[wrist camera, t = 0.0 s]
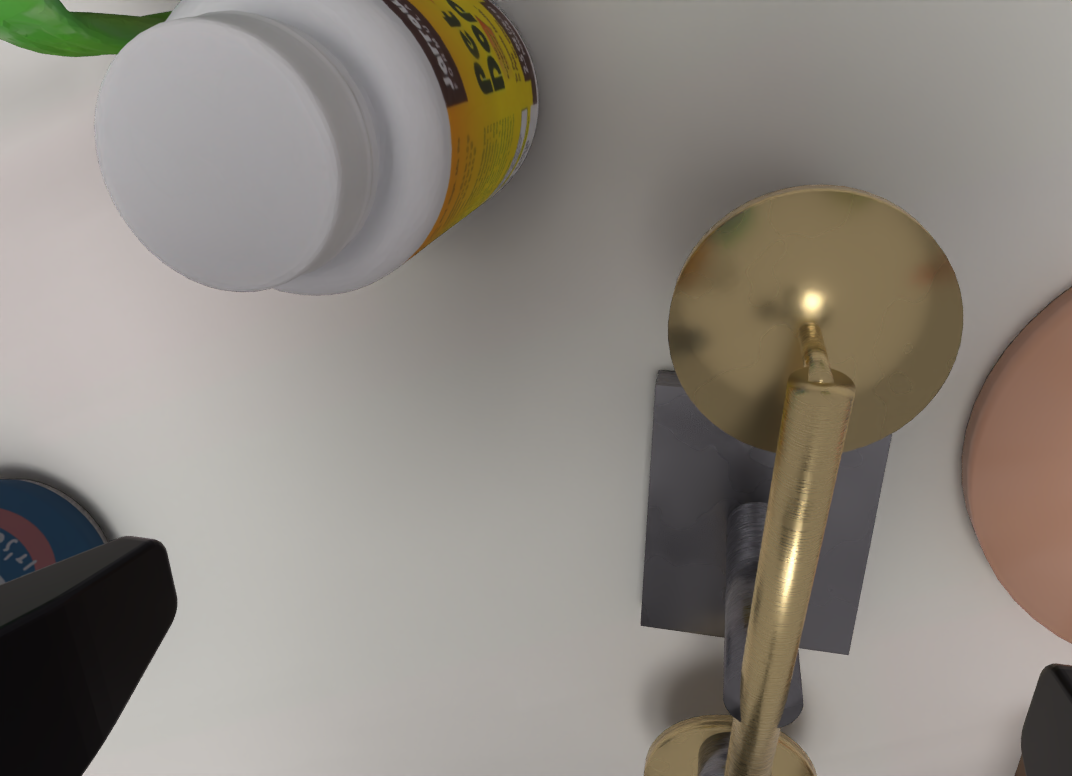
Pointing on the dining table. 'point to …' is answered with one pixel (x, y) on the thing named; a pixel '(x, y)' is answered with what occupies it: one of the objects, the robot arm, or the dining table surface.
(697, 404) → the balance
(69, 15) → the snack cup
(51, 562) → the soda can
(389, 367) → the dining table surface
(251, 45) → the supplement bottle
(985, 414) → the dish
